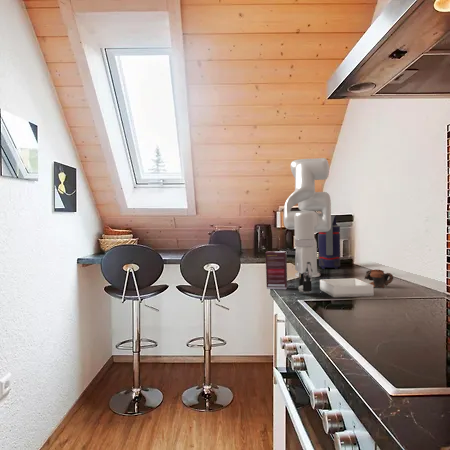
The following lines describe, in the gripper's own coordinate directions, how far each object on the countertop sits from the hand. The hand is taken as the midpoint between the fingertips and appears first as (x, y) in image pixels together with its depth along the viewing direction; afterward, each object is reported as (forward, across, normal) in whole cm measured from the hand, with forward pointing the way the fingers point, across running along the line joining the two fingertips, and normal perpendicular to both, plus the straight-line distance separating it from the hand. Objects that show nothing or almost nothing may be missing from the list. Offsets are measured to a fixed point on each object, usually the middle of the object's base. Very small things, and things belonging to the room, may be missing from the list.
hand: (305, 289), depth 147 cm
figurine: (+1, 0, 0) cm, 1 cm away
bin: (+2, -1, +17) cm, 17 cm away
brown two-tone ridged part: (+3, -11, +35) cm, 37 cm away
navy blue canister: (+4, -65, +34) cm, 74 cm away
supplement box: (+3, -14, -8) cm, 17 cm away
